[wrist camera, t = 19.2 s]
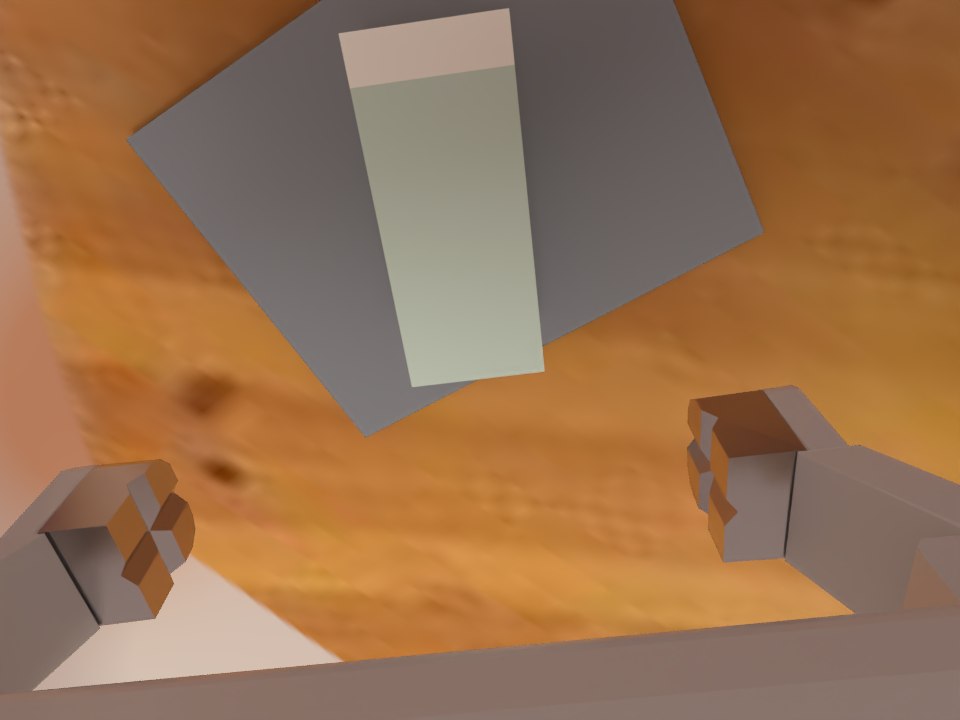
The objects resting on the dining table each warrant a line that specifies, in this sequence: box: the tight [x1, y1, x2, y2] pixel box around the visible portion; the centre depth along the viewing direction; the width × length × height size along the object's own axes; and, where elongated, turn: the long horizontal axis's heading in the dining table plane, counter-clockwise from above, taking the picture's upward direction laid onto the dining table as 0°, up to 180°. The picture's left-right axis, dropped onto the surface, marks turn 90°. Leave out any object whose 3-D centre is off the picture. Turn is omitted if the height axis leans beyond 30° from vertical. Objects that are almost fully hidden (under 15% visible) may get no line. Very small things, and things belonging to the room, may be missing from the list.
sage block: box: [338, 8, 545, 387], centre depth 24 cm, size 5×5×12 cm
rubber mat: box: [126, 0, 764, 438], centre depth 27 cm, size 20×16×1 cm
